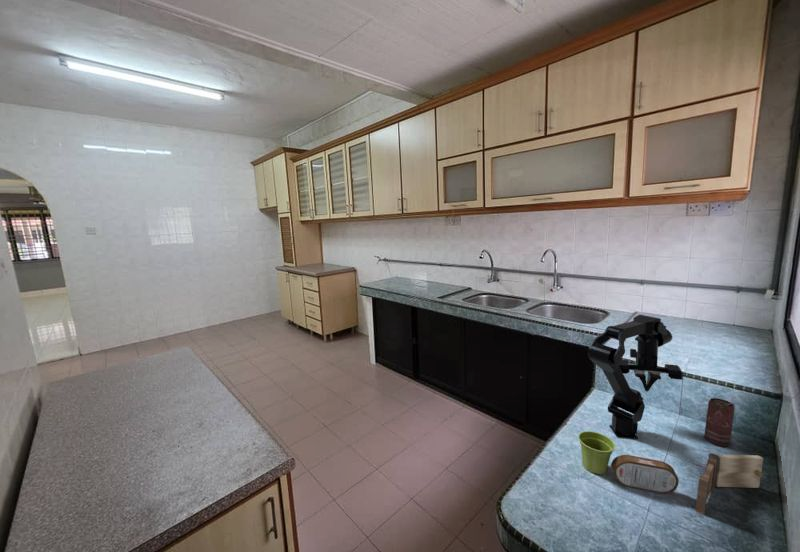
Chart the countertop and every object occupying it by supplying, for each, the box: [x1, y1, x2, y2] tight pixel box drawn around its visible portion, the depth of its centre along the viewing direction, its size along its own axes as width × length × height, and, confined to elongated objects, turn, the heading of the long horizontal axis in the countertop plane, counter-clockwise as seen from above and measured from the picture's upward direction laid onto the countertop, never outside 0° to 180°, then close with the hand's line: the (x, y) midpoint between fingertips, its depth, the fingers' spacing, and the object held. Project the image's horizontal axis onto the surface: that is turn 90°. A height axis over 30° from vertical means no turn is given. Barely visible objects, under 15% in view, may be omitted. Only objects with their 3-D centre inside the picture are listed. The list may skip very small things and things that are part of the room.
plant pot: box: [577, 430, 616, 475], centre depth 97 cm, size 9×9×9 cm
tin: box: [610, 454, 680, 494], centre depth 89 cm, size 15×3×8 cm, turn 71°
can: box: [703, 397, 736, 448], centre depth 107 cm, size 6×6×14 cm
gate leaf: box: [708, 452, 764, 489], centre depth 88 cm, size 13×3×9 cm, turn 87°
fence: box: [695, 456, 717, 515], centre depth 84 cm, size 12×2×9 cm, turn 129°
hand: (646, 390), depth 118 cm, fingers closed
